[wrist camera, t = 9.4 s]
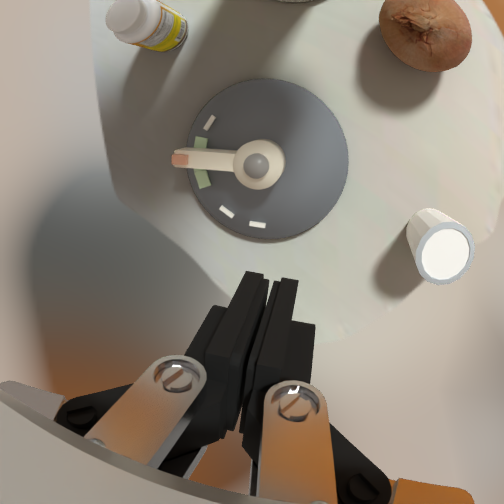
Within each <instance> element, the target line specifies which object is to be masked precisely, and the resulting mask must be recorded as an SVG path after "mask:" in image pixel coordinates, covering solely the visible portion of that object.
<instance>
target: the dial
mask: <svg viewBox="0 0 504 504" xmlns="http://www.w3.org/2000/svg"><path fill="white" fill-rule="evenodd" d="M258 139H269V140H272V141H274V142H276V143H277V144H278V145H279V146H280V147H281V148H282V149H283V151H284V154H285V157H286V166H285V169H284V171H283V173H282V175H281V176H280V177H279V179H278V180H277V181H276V182H275V183H274V184H273V185H272V186H270V187H268V188H265V189H261V190H255V189H251V188H248V187H246V186H244V185H243V184H242V183H241V182H240V181H239V180H238V179H237V177H236V176H235V173H234V172H230V171H219V170H207V169H194V168H187V172H188V176H189V180H190V183H191V186H192V188H193V190H194V193H195V194H196V196H197V198H198V200H199V201H200V203H201V204H202V205H203V207H204V208H205V209H206V210H207V211H208V212H209V214H210V215H211V216H212V217H214V218H215V219H216V220H217V221H218V222H220V223H221V224H223V225H224V226H226V227H227V228H229V229H231V230H233V231H235V232H237V233H240V234H243V235H246V236H250V237H254V238H261V239H278V238H285V237H289V236H293V235H296V234H299V233H301V232H303V231H306V230H308V229H309V228H311V227H313V226H314V225H316V224H317V223H318V222H320V221H321V220H322V219H323V218H324V217H325V216H326V215H327V214H328V213H329V212H330V211H331V210H332V208H333V207H334V205H335V204H336V203H337V201H338V199H339V197H340V195H341V194H342V191H343V188H344V186H345V183H346V178H347V174H348V163H349V161H348V149H347V144H346V139H345V136H344V133H343V131H342V128H341V126H340V124H339V122H338V120H337V119H336V117H335V116H334V114H333V113H332V112H331V110H330V109H329V108H328V107H327V106H326V105H325V104H324V102H323V101H321V100H320V99H319V98H318V97H317V96H315V95H314V94H312V93H311V92H309V91H308V90H306V89H304V88H302V87H300V86H298V85H296V84H293V83H290V82H286V81H282V80H276V79H255V80H248V81H244V82H241V83H238V84H235V85H233V86H230V87H228V88H227V89H225V90H223V91H222V92H220V93H219V94H217V95H216V96H215V97H213V98H212V99H211V100H210V101H209V102H208V103H207V104H206V105H205V106H204V108H203V109H202V110H201V112H200V113H199V114H198V116H197V118H196V120H195V121H194V123H193V126H192V128H191V131H190V133H189V137H188V142H187V147H190V148H208V149H223V150H236V151H237V150H238V149H239V148H240V147H241V146H243V145H244V144H246V143H248V142H251V141H254V140H258Z"/></svg>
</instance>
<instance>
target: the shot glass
mask: <svg viewBox="0 0 504 504" xmlns="http://www.w3.org/2000/svg"><path fill="white" fill-rule="evenodd" d="M406 237H407V240H408V243H409V246H410V248H411V251H412V254H413V257H414V260H415V263H416V265H417V268H418V271H419V274H420V275H421V276H422V277H423V278H424V279H425V280H426V281H427V282H430V283H434V284H436V285H442V284H450V283H452V282H454V281H456V280H458V279H459V278H461V277H462V275H463V274H464V273H465V272H466V271H467V270H468V269H469V267H470V265H471V263H472V261H473V258H474V250H475V245H474V241H473V237H472V234H471V233H470V232H469V231H468V230H467V228H466V227H465V226H464V225H462V224H460V223H459V222H457V221H455V220H454V219H452V218H450V217H449V216H447V215H445V214H444V213H442V212H440V211H438V210H435V209H433V208H429V209H422V210H420V211H418V212H416V213H415V214H414V215H413V216H412V218H411V219H410V220H409V223H408V225H407V228H406Z"/></svg>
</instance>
